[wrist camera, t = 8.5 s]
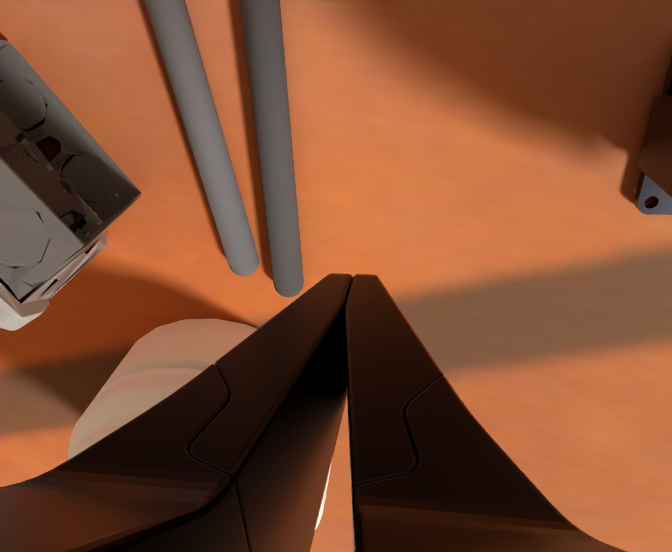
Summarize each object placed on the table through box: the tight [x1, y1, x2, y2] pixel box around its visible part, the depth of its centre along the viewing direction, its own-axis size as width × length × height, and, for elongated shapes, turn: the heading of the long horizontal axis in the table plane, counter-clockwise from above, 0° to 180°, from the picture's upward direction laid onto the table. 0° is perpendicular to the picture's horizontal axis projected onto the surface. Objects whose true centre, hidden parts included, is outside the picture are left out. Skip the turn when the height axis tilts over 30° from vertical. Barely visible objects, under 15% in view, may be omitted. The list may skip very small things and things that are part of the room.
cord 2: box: [240, 0, 304, 297], centre depth 21 cm, size 1×16×1 cm, turn 2°
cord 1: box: [144, 0, 259, 276], centre depth 21 cm, size 1×15×1 cm, turn 11°
